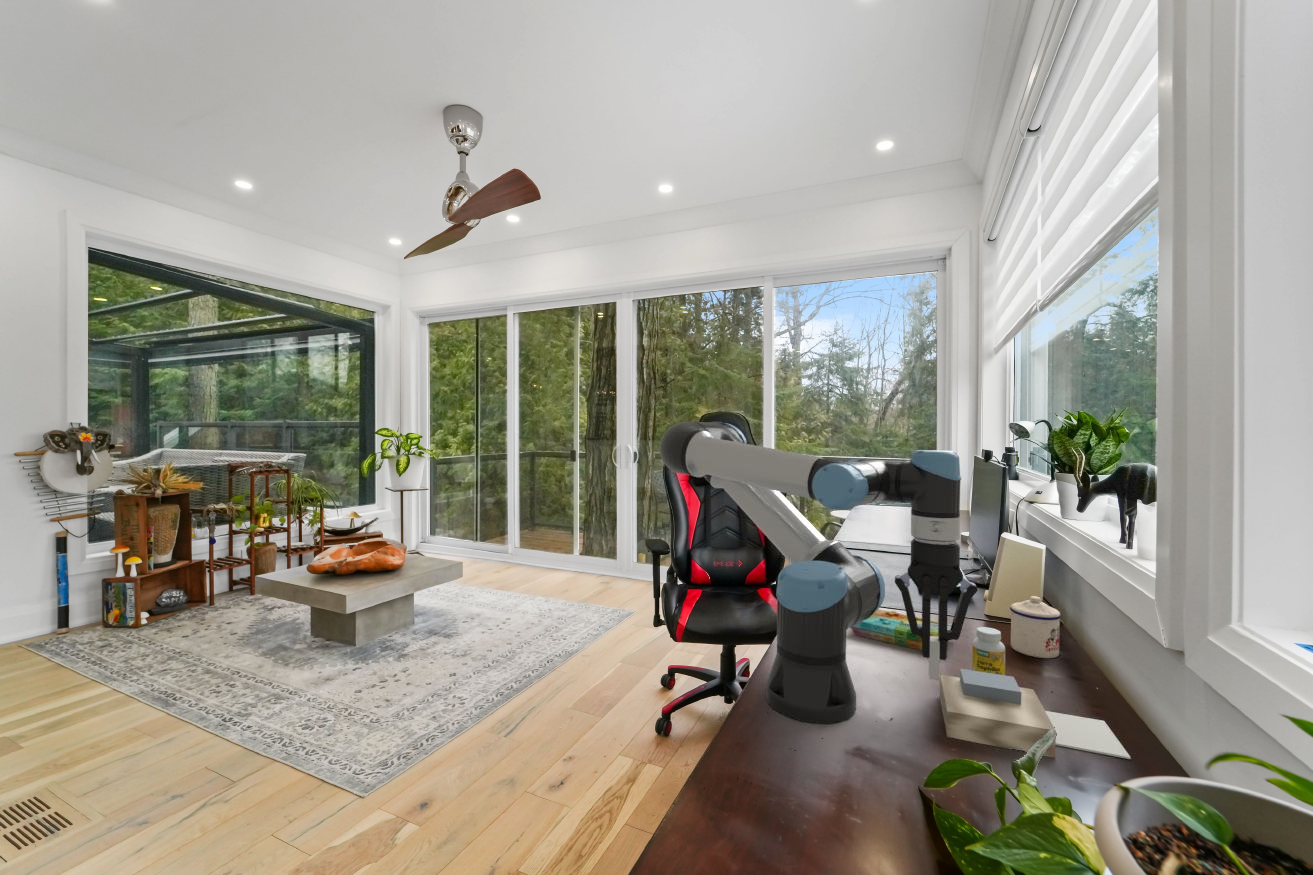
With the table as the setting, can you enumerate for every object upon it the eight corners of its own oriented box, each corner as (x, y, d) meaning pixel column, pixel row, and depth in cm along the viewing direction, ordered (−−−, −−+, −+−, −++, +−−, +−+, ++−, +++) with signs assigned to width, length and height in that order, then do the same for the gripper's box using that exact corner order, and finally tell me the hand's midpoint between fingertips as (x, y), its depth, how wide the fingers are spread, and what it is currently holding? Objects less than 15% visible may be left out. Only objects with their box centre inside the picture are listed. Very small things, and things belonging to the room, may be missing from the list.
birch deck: (946, 736, 86) (947, 710, 86) (939, 696, 99) (940, 674, 99) (1055, 757, 81) (1055, 730, 81) (1032, 712, 94) (1033, 689, 94)
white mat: (1050, 744, 84) (1050, 742, 84) (1033, 710, 94) (1033, 708, 94) (1130, 759, 81) (1130, 757, 81) (1104, 722, 91) (1104, 720, 91)
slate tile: (963, 694, 91) (964, 682, 91) (959, 679, 97) (960, 668, 97) (1021, 704, 88) (1021, 692, 88) (1013, 688, 94) (1013, 676, 94)
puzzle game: (865, 603, 138) (955, 621, 126) (864, 622, 138) (955, 641, 126) (849, 616, 129) (945, 636, 116) (848, 636, 129) (944, 658, 116)
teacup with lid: (1056, 663, 114) (1057, 606, 114) (1004, 650, 120) (1005, 597, 120) (1065, 646, 122) (1066, 594, 122) (1017, 636, 129) (1018, 585, 129)
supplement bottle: (1004, 678, 107) (1005, 628, 107) (1005, 689, 102) (1006, 637, 102) (972, 672, 109) (972, 623, 109) (971, 682, 105) (972, 632, 105)
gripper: (893, 540, 95) (892, 678, 95) (981, 547, 90) (980, 693, 90) (893, 533, 102) (892, 662, 102) (975, 539, 96) (974, 674, 97)
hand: (933, 676), depth 96 cm, fingers closed
